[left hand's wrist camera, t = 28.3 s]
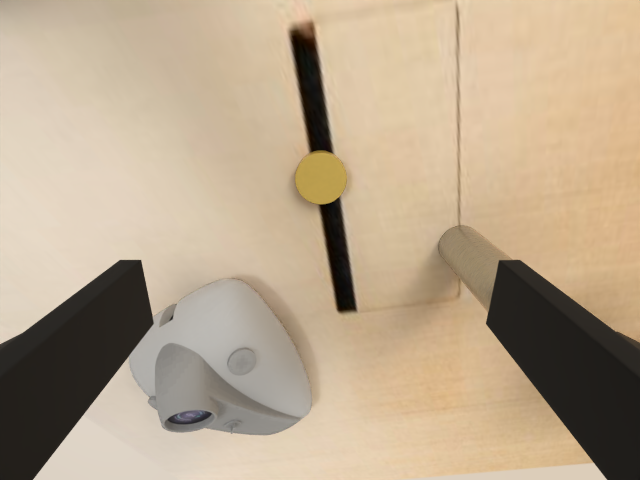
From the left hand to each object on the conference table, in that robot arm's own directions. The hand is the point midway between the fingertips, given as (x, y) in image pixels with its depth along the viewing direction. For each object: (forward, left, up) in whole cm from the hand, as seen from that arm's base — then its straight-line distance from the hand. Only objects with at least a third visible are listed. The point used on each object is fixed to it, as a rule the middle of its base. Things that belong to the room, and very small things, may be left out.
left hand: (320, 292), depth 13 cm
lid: (0, 0, -24) cm, 24 cm away
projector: (+2, -25, -26) cm, 36 cm away
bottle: (+18, 0, -26) cm, 32 cm away
